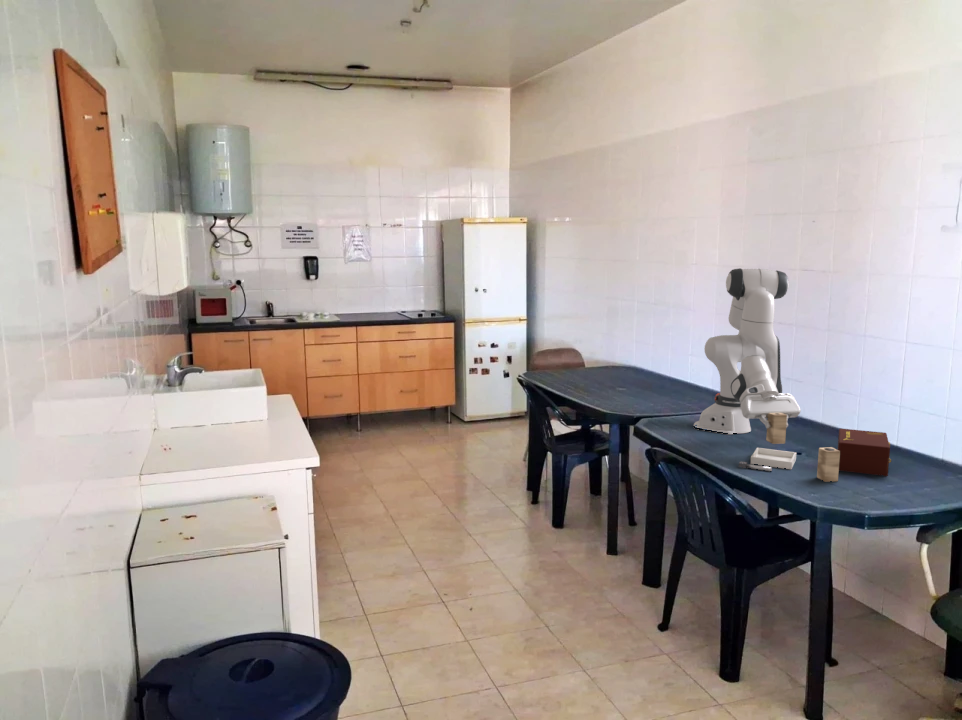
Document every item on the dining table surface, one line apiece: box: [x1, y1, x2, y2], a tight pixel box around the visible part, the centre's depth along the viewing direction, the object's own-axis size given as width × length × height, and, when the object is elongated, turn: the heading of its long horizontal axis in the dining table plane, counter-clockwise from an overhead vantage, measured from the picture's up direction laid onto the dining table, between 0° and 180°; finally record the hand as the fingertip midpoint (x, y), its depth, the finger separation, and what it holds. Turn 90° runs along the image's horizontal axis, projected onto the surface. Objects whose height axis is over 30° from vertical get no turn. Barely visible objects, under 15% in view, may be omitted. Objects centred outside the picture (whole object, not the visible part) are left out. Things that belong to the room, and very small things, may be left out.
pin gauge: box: [738, 461, 773, 472], centre depth 248 cm, size 10×2×2 cm, turn 61°
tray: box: [750, 447, 797, 470], centre depth 256 cm, size 13×13×2 cm
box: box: [837, 428, 892, 477], centre depth 251 cm, size 21×16×10 cm
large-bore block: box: [816, 446, 840, 483], centre depth 236 cm, size 4×4×10 cm
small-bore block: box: [765, 413, 788, 445], centre depth 253 cm, size 4×4×10 cm
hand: (777, 427), depth 253 cm, fingers closed on small-bore block, 4 cm apart
